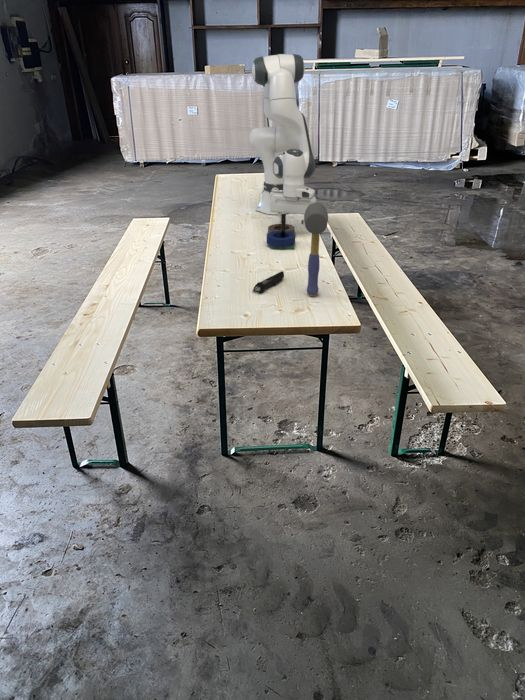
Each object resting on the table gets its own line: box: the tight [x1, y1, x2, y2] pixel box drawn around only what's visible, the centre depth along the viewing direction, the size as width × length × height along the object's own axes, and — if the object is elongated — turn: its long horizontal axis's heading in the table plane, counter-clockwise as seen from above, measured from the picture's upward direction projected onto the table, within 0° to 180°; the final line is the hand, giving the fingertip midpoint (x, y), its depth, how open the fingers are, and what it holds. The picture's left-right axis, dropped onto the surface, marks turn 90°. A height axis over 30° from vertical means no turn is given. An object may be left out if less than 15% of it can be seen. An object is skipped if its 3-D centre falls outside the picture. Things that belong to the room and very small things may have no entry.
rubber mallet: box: [303, 202, 329, 297], centre depth 170 cm, size 12×8×30 cm, turn 175°
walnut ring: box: [267, 223, 296, 235], centre depth 231 cm, size 12×12×3 cm
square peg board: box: [271, 213, 295, 250], centre depth 217 cm, size 9×9×13 cm
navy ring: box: [266, 231, 296, 247], centre depth 219 cm, size 12×12×3 cm
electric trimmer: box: [252, 271, 285, 294], centre depth 183 cm, size 4×16×3 cm, turn 144°
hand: (292, 223), depth 229 cm, fingers open, 8 cm apart
